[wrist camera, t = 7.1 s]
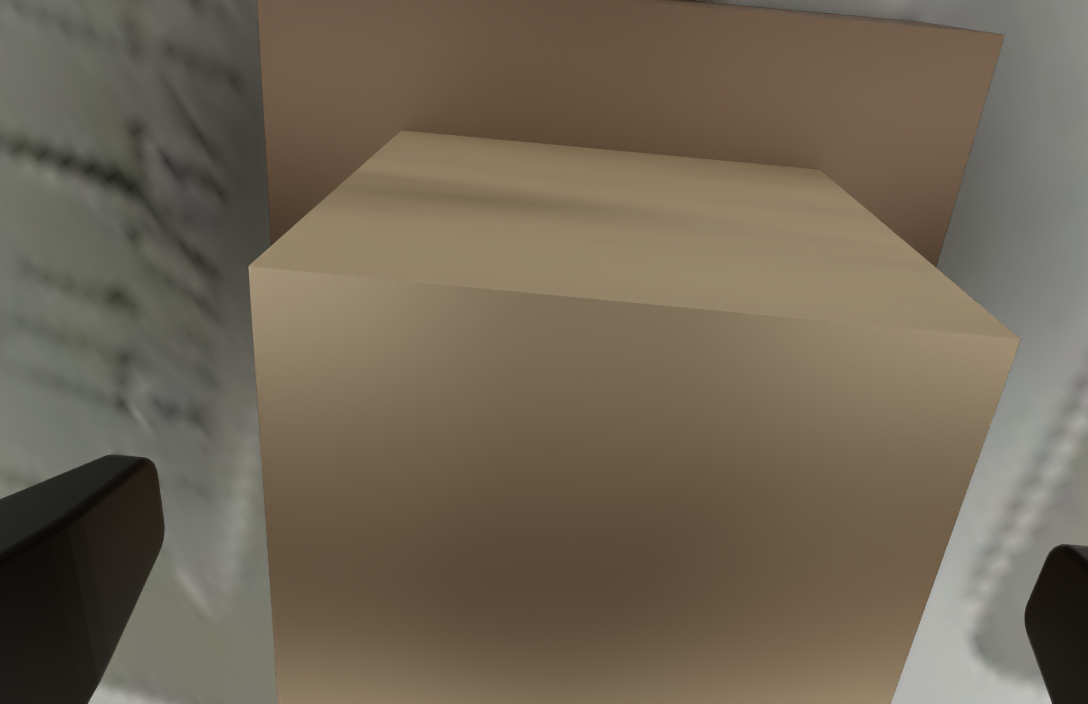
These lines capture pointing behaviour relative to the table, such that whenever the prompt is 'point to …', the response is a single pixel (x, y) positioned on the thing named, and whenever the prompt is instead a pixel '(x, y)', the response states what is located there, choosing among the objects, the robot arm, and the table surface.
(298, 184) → the walnut base
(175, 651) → the table surface
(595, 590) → the oak cube
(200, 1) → the table surface
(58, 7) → the table surface
